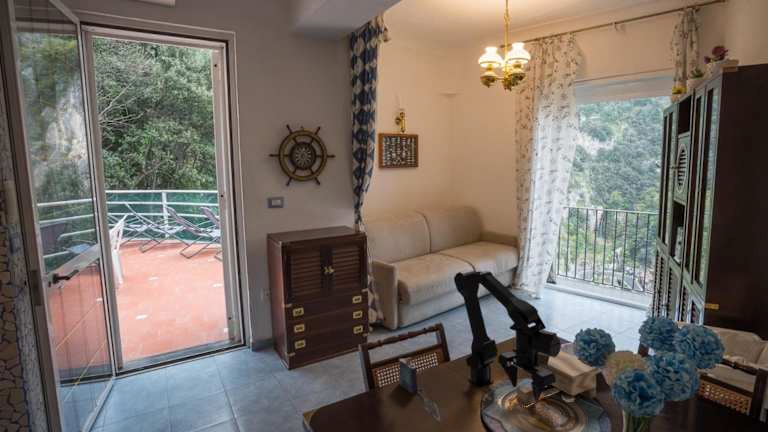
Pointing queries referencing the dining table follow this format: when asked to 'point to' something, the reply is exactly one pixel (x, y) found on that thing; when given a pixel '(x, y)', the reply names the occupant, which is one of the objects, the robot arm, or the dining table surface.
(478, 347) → the robot arm
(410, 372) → the flask
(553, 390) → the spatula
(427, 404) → the throwing knife
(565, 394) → the steel token
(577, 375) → the wooden crate
